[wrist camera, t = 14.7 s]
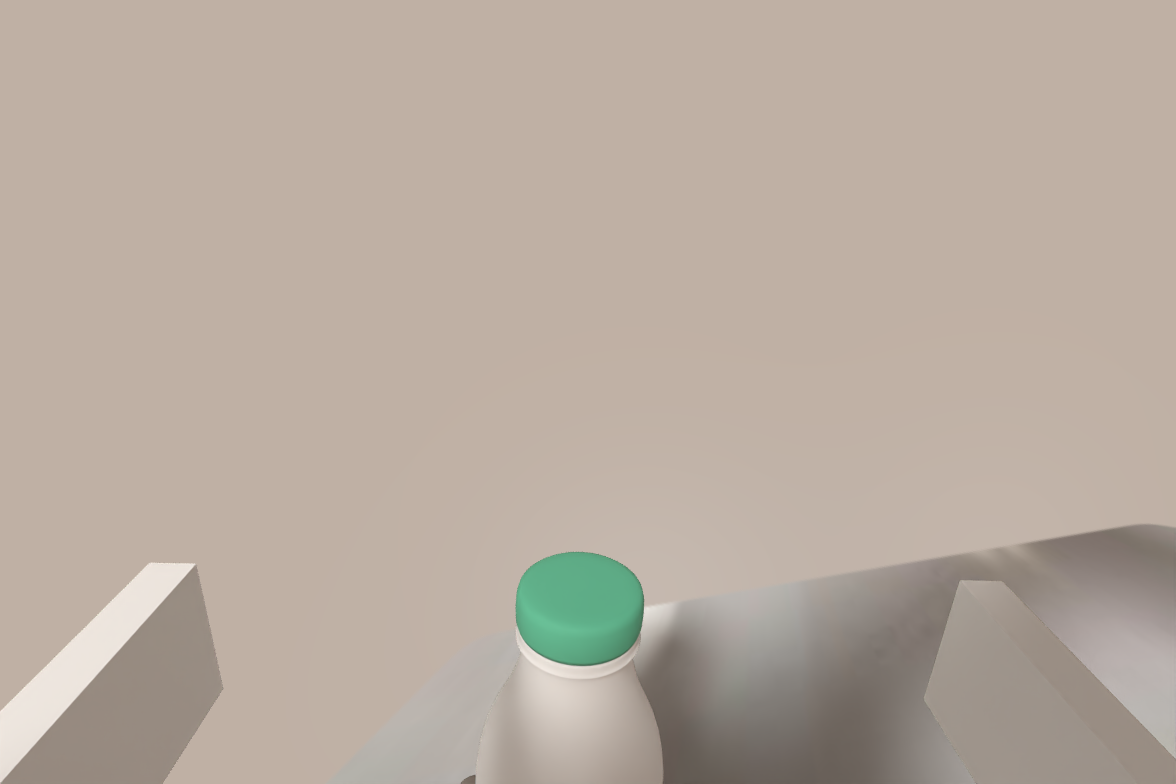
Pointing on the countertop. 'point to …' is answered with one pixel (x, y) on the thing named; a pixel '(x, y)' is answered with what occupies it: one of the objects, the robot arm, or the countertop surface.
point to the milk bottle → (574, 682)
